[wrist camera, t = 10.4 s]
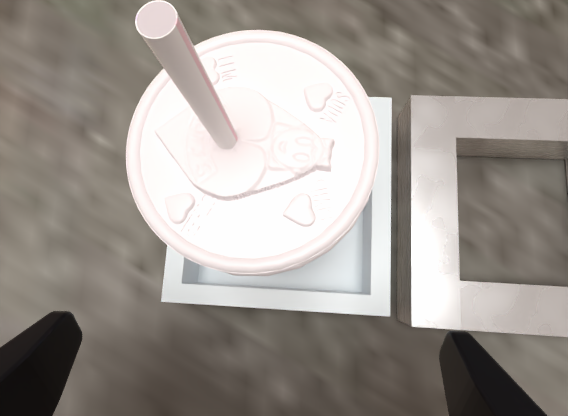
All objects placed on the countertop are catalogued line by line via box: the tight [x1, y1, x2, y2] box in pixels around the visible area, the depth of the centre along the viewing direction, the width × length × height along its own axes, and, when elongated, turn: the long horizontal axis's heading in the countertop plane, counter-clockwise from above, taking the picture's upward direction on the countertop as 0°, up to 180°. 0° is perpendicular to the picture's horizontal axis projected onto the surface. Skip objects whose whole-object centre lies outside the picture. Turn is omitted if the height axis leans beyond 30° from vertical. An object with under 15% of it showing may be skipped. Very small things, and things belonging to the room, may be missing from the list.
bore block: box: [397, 95, 568, 337], centre depth 17 cm, size 10×10×2 cm
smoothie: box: [126, 0, 380, 276], centre depth 12 cm, size 6×6×14 cm
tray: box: [161, 97, 392, 316], centre depth 18 cm, size 10×10×3 cm
